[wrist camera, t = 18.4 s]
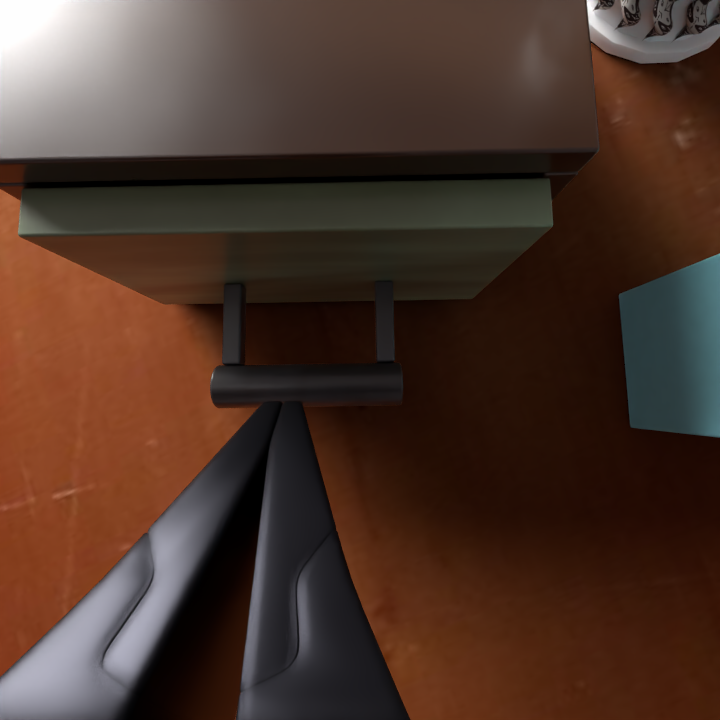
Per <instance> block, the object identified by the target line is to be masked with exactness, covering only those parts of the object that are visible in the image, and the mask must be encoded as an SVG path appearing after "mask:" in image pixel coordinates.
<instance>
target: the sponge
mask: <svg viewBox="0 0 720 720" xmlns="http://www.w3.org/2000/svg"><path fill="white" fill-rule="evenodd" d="M619 304H620V315H621V326H622V338H623V349H624V360H625V372H626V383H627V394H628V406H629V417H630V427H632V428H639V429H648V430H657V431H665V432H674V433H683V434H692V435H701V436H710V437H718V438H720V254H717V255H715V256H712V257H710V258H707V259H705V260H702V261H700V262H697V263H695V264H693V265H690V266H688V267H685V268H683V269H680V270H678V271H675V272H673V273H670V274H668V275H665V276H663V277H660V278H658V279H655V280H653V281H650V282H648V283H645V284H643V285H640V286H638V287H635V288H633V289H630V290H628V291H625V292H623V293H620V294H619Z"/></svg>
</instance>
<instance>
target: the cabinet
mask: <svg viewBox="0 0 720 720" xmlns="http://www.w3.org/2000/svg"><path fill="white" fill-rule="evenodd" d="M599 148H600V145H599V133H598V122H597V111H596V100H595V88H594V77H593V66H592V54H591V43H590V32H589V21H588V9H587V0H0V189H1V190H3V191H5V192H6V193H8V194H10V195H12V196H13V197H15V198H17V199H19V200H20V201H21V193H22V189H24V188H69V187H116V186H115V185H114V184H113V183H111V182H110V181H134V180H186V179H237V178H289V177H341V176H392V175H444V174H489V175H488V177H487V179H536V178H548V179H550V187H551V200H553V199H554V198H555V197H556V196H557V195H558V194H559V193H560V192H561V191H562V190H563V189H564V188H565V187H566V186H567V185H568V184H569V183H570V182H571V181H572V179H573V178H574V177H575V176H576V175H577V174H578V171H580V170H581V169H582V168H583V167H584V166H585V165H586V164H587V163H588V162H589V161H590V160H591V159H592V158H593V157H594V156H595V155H596V154H597V153H598V151H599Z"/></svg>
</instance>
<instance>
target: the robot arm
mask: <svg viewBox="0 0 720 720" xmlns="http://www.w3.org/2000/svg"><path fill="white" fill-rule="evenodd" d="M240 692H241V694H240ZM237 706H238V707H237ZM236 711H237V714H236ZM235 715H236V720H410V718H409V715H408V713H407V711H406V709H405V706H404V704H403V702H402V700H401V697H400V695H399V693H398V690H397V688H396V685H395V683H394V681H393V678H392V676H391V674H390V671H389V669H388V667H387V664H386V662H385V659H384V657H383V655H382V652H381V650H380V648H379V645H378V643H377V641H376V638H375V636H374V633H373V631H372V629H371V626H370V624H369V622H368V619H367V617H366V615H365V612H364V610H363V607H362V605H361V602H360V599H359V597H358V594H357V592H356V589H355V587H354V584H353V581H352V579H351V576H350V573H349V569H348V566H347V563H346V560H345V557H344V553H343V550H342V547H341V543H340V539H339V536H338V532H337V531H336V525H335V522H334V518H333V514H332V511H331V507H330V503H329V500H328V496H327V492H326V489H325V485H324V482H323V478H322V474H321V471H320V467H319V463H318V460H317V456H316V452H315V449H314V445H313V441H312V438H311V434H310V430H309V427H308V423H307V419H306V416H305V412H304V408H303V405H302V402H301V401H285V402H281V401H266V402H264V403H262V404H261V405H260V406H259V408H258V409H257V410H256V411H255V412H254V413H253V414H252V415H251V416H250V418H249V419H248V420H247V421H246V422H245V423H244V424H243V425H242V426H241V427H240V429H239V430H238V431H237V432H236V433H235V434H234V435H233V436H232V437H231V439H230V440H229V441H228V442H227V443H226V444H225V445H224V446H223V447H222V448H221V450H220V451H219V452H218V453H217V454H216V455H215V456H214V457H213V458H212V460H211V461H210V462H209V463H208V464H207V465H206V466H205V467H204V468H203V469H202V471H201V472H200V473H199V474H198V475H197V476H196V477H195V478H194V479H193V481H192V482H191V483H190V484H189V485H188V486H187V487H186V488H185V489H184V490H183V492H182V493H181V494H180V495H179V496H178V497H177V498H176V499H175V500H174V502H173V503H172V504H171V505H170V506H169V507H168V508H167V509H166V510H165V511H164V513H163V514H162V515H161V516H160V517H159V518H158V519H157V520H156V521H155V522H154V524H153V525H152V526H151V527H150V528H149V529H148V533H145V534H143V536H142V537H141V538H140V539H139V540H138V541H137V542H136V543H135V544H134V545H133V547H132V548H131V549H130V550H129V551H128V552H127V553H126V554H125V555H124V556H123V557H122V558H121V559H120V561H119V562H118V563H117V564H116V565H115V566H114V567H113V568H112V569H111V570H110V571H109V572H108V573H107V574H106V575H105V576H104V578H103V579H102V580H101V581H100V582H99V583H98V584H97V585H96V586H95V587H94V588H93V589H92V590H91V591H89V592H88V593H87V594H86V595H85V596H84V597H83V598H82V599H81V600H80V601H79V602H78V603H77V604H76V605H75V606H74V607H73V608H72V609H71V610H70V611H69V612H68V613H67V614H66V615H65V616H64V617H63V618H62V619H61V620H60V621H59V622H58V623H57V624H56V625H55V626H54V627H52V628H51V629H50V630H49V631H48V632H47V633H46V634H45V635H44V636H43V637H42V638H41V639H40V640H39V641H38V642H37V643H36V644H35V645H34V646H33V647H31V648H30V649H29V650H28V651H27V652H26V653H25V654H24V655H23V656H22V657H21V658H20V659H19V660H18V661H17V662H16V663H15V664H14V665H13V666H12V667H11V668H9V669H8V670H7V671H6V672H5V673H4V674H3V675H2V676H1V677H0V720H235Z"/></svg>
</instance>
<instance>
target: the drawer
mask: <svg viewBox="0 0 720 720" xmlns="http://www.w3.org/2000/svg"><path fill="white" fill-rule="evenodd" d="M488 175H489V174H444V175H392V176H341V177H289V178H237V179H186V180H134V181H110V182H111V183H113V184H114V185H115V186H116V187H69V188H24V189H22V193H21V205H20V217H19V229H18V235H19V236H20V237H22V238H24V239H26V240H28V241H30V242H32V243H34V244H36V245H39V246H41V247H43V248H45V249H47V250H49V251H51V252H54V253H56V254H58V255H60V256H62V257H64V258H66V259H68V260H71V261H73V262H75V263H77V264H79V265H81V266H83V267H85V268H88V269H90V270H92V271H94V272H96V273H98V274H100V275H103V276H105V277H107V278H109V279H111V280H113V281H115V282H117V283H120V284H122V285H124V286H126V287H128V288H130V289H132V290H134V291H137V292H139V293H141V294H143V295H145V296H147V297H149V298H151V299H154V300H156V301H158V302H160V303H162V304H218V303H224V306H223V351H222V363H223V364H224V365H219V366H217V367H216V368H215V369H214V371H213V373H212V377H211V383H210V391H211V398H212V401H213V404H214V405H215V406H216V407H218V408H259V406H260V405H261V404H262V403H264V402H266V401H281V402H285V401H301V402H302V405H303V407H323V406H385V405H401V404H402V401H403V372H402V366H401V363H399V362H394V361H395V343H394V304H393V300H446V299H473V298H474V297H475V296H476V295H477V294H478V293H479V292H480V291H482V290H483V289H484V288H485V287H486V286H487V285H488V284H489V283H490V282H492V281H493V280H494V279H495V278H496V277H497V276H498V275H499V274H500V273H502V272H503V271H504V270H505V269H506V268H507V267H508V266H509V265H510V264H512V263H513V262H514V261H515V260H516V259H517V258H518V257H519V256H520V255H522V254H523V253H524V252H525V251H526V250H527V249H528V248H529V247H530V246H532V245H533V244H534V243H535V242H536V241H537V240H538V239H539V238H540V237H542V236H543V235H544V234H545V233H546V232H547V231H548V230H549V229H550V228H552V226H553V214H552V200H551V187H550V179H548V178H536V179H487V177H488ZM332 301H375V343H376V363H332V364H272V365H245V340H246V303H275V302H332Z"/></svg>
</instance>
